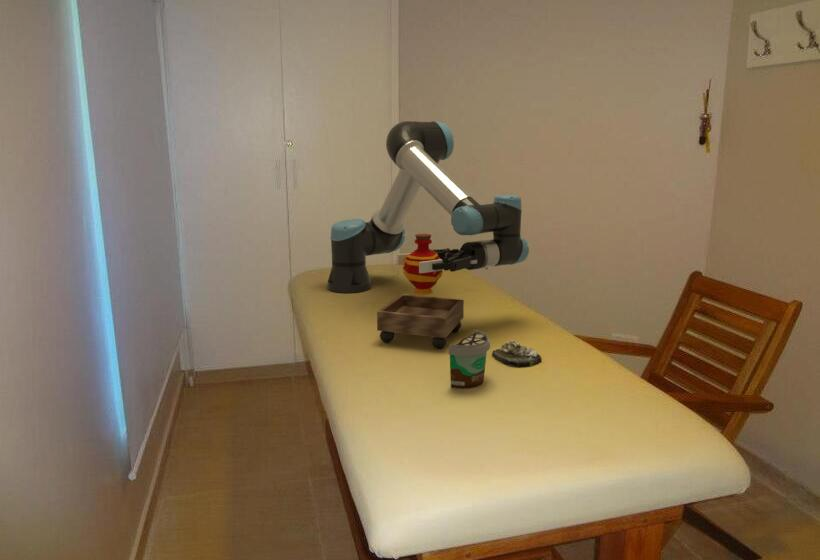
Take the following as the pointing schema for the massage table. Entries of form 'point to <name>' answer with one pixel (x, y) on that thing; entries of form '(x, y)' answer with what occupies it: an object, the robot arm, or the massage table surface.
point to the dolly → (420, 318)
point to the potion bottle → (411, 266)
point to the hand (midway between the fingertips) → (408, 263)
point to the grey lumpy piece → (516, 355)
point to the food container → (468, 361)
